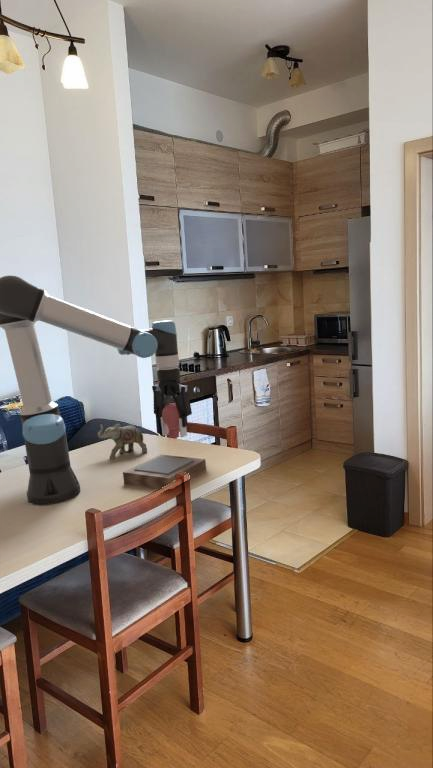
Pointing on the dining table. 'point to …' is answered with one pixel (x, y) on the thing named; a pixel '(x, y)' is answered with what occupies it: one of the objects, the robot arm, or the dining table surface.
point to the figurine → (123, 438)
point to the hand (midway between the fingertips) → (174, 435)
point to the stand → (163, 470)
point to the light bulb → (171, 419)
